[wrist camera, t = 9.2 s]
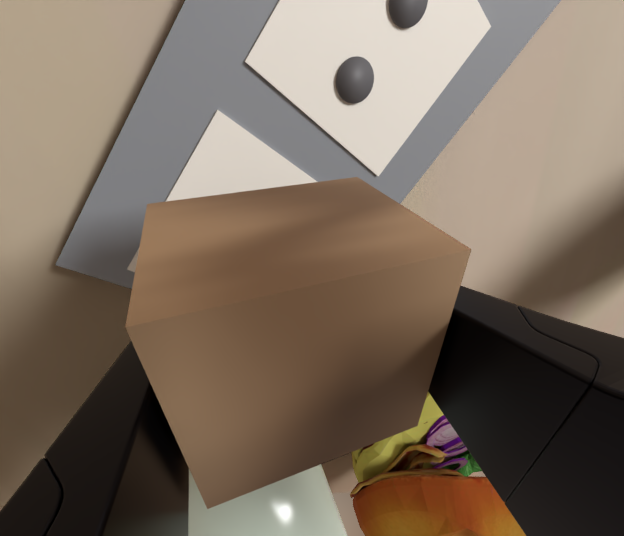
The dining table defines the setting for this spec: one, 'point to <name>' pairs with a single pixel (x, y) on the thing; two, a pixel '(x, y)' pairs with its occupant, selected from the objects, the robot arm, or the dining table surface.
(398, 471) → the cheeseburger
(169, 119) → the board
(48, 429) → the dining table surface
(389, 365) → the brown wooden block
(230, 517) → the mug
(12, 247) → the dining table surface
